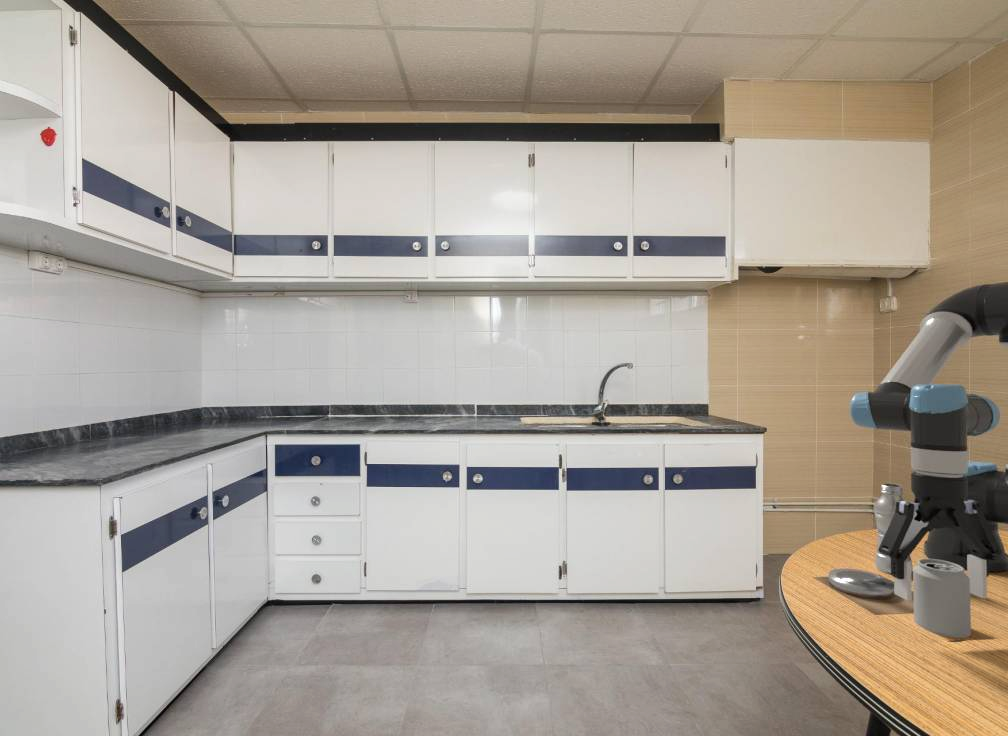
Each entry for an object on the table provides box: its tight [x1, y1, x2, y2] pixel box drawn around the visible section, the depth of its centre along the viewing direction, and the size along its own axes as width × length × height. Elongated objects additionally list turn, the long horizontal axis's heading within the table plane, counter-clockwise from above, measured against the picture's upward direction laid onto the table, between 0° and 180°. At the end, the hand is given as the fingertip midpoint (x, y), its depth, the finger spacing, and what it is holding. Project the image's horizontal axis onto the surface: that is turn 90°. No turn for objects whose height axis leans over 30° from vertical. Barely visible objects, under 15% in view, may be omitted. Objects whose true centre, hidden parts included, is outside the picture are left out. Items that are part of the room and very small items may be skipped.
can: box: [912, 558, 972, 643], centre depth 89 cm, size 8×8×12 cm
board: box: [812, 574, 914, 616], centre depth 102 cm, size 15×17×1 cm
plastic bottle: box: [873, 483, 914, 575], centre depth 113 cm, size 6×7×20 cm
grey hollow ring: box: [828, 568, 894, 600], centre depth 104 cm, size 11×11×2 cm
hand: (940, 596), depth 88 cm, fingers open, 13 cm apart
